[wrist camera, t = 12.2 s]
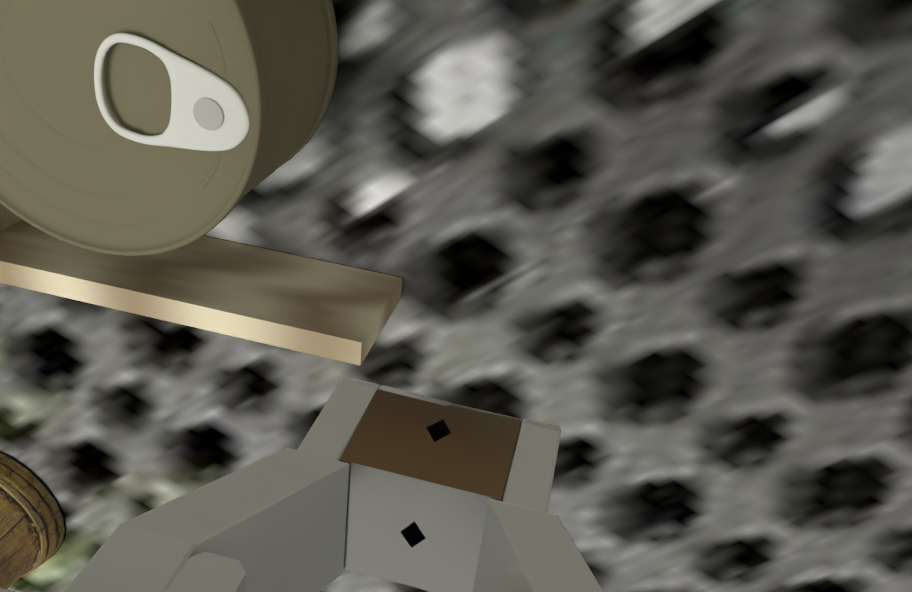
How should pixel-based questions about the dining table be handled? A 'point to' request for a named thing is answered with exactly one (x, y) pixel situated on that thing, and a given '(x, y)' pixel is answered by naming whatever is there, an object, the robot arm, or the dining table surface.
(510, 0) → the dining table surface
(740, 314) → the dining table surface
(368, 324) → the box
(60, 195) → the can
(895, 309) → the dining table surface
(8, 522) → the wooden mug
